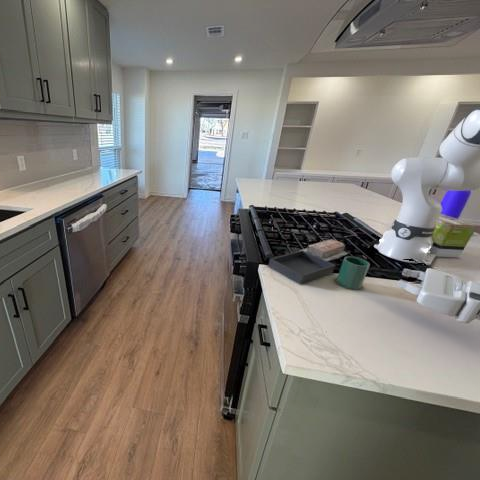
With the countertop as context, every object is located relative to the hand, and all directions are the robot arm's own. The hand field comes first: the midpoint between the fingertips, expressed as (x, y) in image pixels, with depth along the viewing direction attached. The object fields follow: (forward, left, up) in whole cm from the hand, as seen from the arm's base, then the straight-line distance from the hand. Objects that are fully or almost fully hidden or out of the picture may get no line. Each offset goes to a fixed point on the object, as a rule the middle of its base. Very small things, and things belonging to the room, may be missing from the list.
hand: (400, 276), depth 73 cm
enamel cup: (+3, -10, -8) cm, 13 cm away
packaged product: (-11, -28, -8) cm, 31 cm away
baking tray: (+9, -24, -8) cm, 26 cm away
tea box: (-62, -11, -8) cm, 63 cm away
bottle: (-96, -19, -8) cm, 98 cm away
